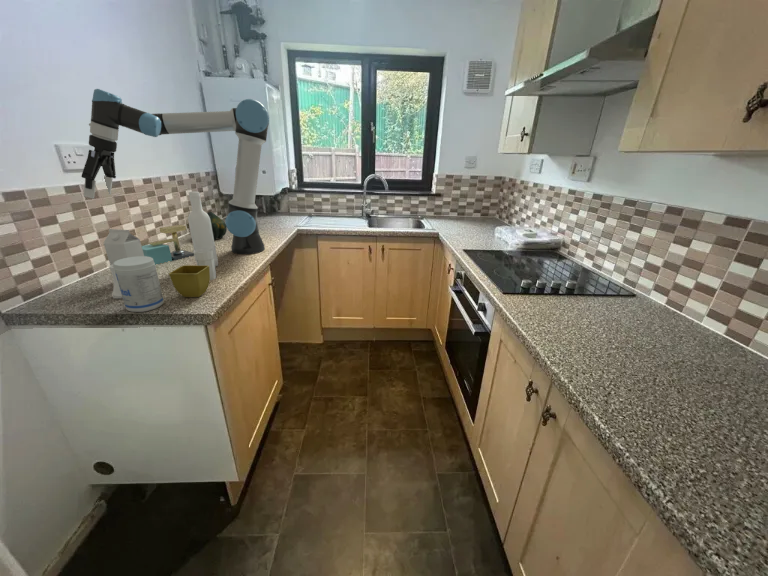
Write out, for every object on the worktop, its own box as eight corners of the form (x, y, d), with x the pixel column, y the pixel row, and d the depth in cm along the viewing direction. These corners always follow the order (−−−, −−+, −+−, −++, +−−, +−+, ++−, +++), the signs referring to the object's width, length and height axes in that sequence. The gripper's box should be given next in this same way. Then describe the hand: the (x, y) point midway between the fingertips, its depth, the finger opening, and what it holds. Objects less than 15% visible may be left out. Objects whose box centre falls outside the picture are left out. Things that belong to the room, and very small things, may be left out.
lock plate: (195, 255, 145) (194, 250, 144) (175, 260, 138) (174, 255, 137) (183, 252, 149) (181, 247, 148) (163, 257, 142) (162, 251, 141)
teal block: (172, 261, 137) (168, 245, 135) (150, 266, 130) (146, 250, 127) (161, 258, 141) (157, 242, 138) (139, 263, 133) (135, 247, 131)
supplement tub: (118, 309, 94) (103, 262, 88) (150, 297, 102) (138, 254, 96) (141, 315, 91) (127, 267, 85) (172, 303, 99) (161, 258, 93)
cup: (209, 274, 123) (203, 247, 119) (222, 276, 121) (217, 249, 117) (194, 279, 118) (188, 251, 113) (208, 282, 116) (202, 253, 111)
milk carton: (132, 277, 118) (117, 227, 110) (150, 278, 117) (136, 227, 110) (116, 284, 111) (99, 231, 104) (135, 285, 111) (120, 232, 104)
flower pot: (188, 289, 109) (182, 264, 106) (214, 289, 110) (209, 265, 106) (174, 300, 101) (167, 273, 98) (202, 300, 102) (197, 273, 98)
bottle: (218, 262, 137) (206, 190, 126) (218, 267, 131) (205, 192, 119) (197, 264, 134) (182, 191, 123) (196, 270, 127) (180, 193, 116)
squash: (202, 233, 162) (215, 209, 166) (185, 230, 170) (199, 207, 173) (224, 247, 174) (236, 224, 178) (208, 244, 181) (220, 222, 185)
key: (190, 248, 145) (185, 225, 141) (157, 256, 133) (150, 231, 129) (185, 247, 147) (180, 224, 143) (151, 255, 135) (145, 230, 131)
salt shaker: (107, 295, 102) (97, 266, 99) (132, 288, 109) (124, 260, 105) (121, 300, 100) (111, 270, 96) (146, 292, 106) (138, 263, 102)
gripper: (106, 135, 123) (101, 188, 129) (71, 131, 101) (66, 195, 107) (129, 143, 126) (123, 194, 132) (100, 140, 104) (94, 202, 110)
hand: (98, 195), depth 119 cm, fingers open, 13 cm apart
